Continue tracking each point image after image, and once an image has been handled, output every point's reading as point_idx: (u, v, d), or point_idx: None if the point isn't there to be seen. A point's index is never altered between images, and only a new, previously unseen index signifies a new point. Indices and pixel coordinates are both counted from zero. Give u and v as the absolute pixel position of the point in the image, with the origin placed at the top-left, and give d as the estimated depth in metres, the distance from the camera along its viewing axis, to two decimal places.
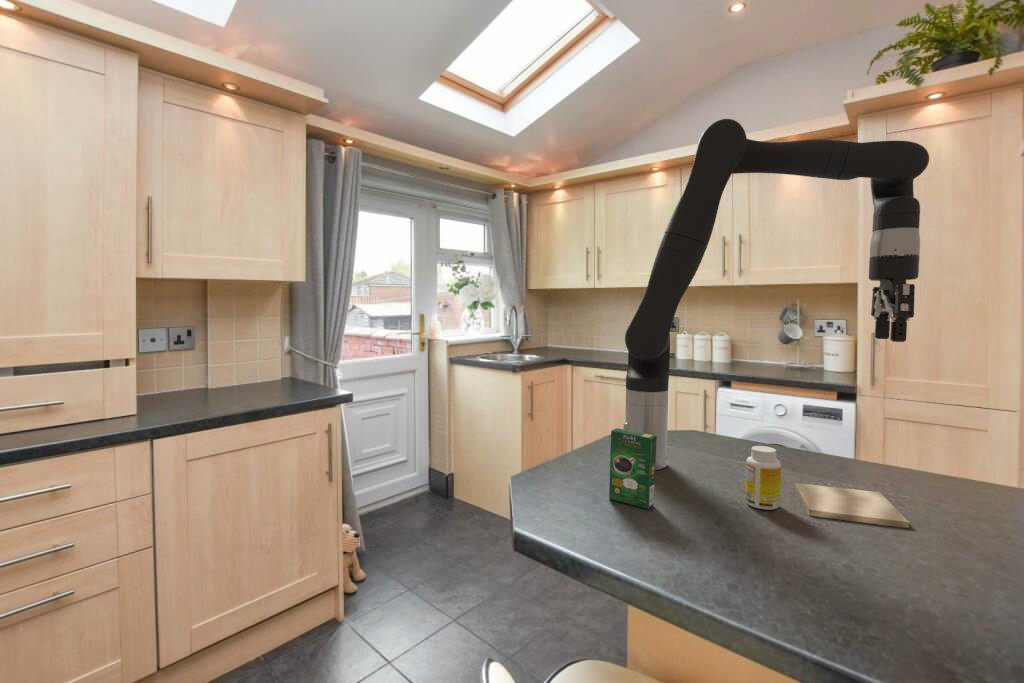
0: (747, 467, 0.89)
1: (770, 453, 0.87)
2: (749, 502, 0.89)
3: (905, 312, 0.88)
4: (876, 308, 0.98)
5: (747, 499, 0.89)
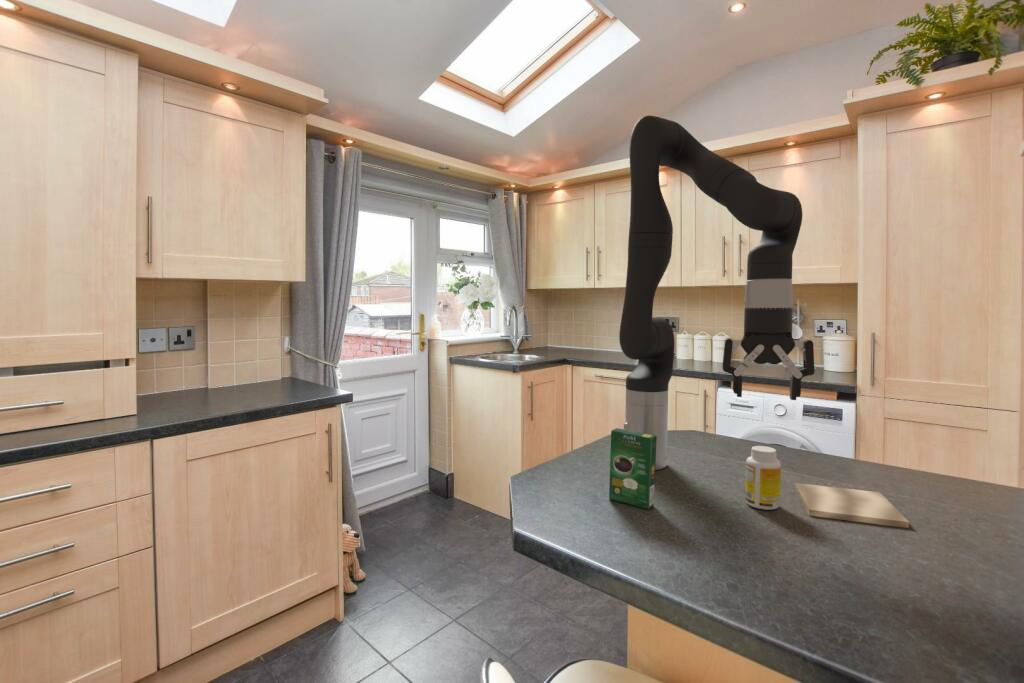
0: (747, 467, 0.89)
1: (770, 453, 0.87)
2: (749, 502, 0.89)
3: None
4: None
5: (747, 499, 0.89)
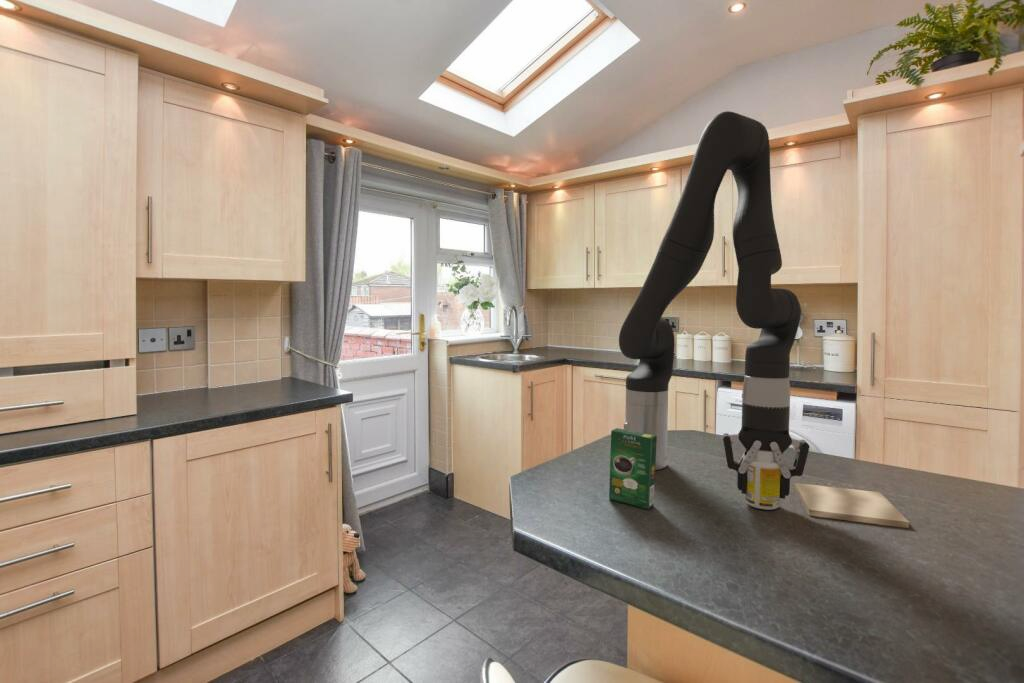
0: None
1: (770, 453, 0.87)
2: (749, 502, 0.89)
3: None
4: (751, 460, 0.88)
5: (747, 499, 0.89)
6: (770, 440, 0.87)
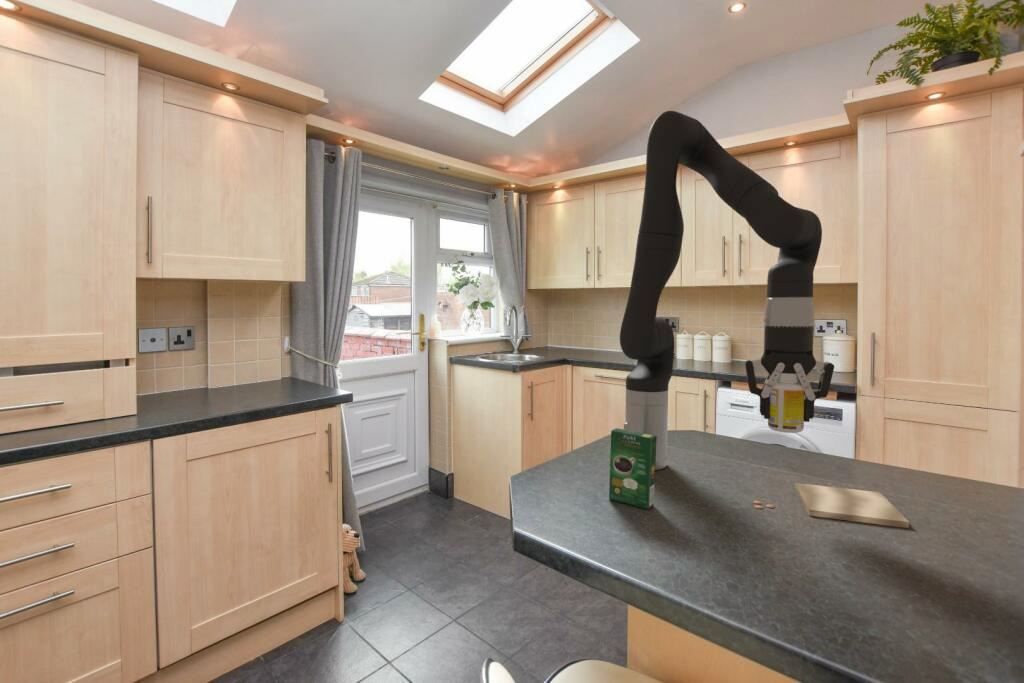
0: None
1: (794, 375, 0.85)
2: (772, 426, 0.87)
3: None
4: (775, 383, 0.87)
5: (770, 424, 0.88)
6: (794, 362, 0.86)
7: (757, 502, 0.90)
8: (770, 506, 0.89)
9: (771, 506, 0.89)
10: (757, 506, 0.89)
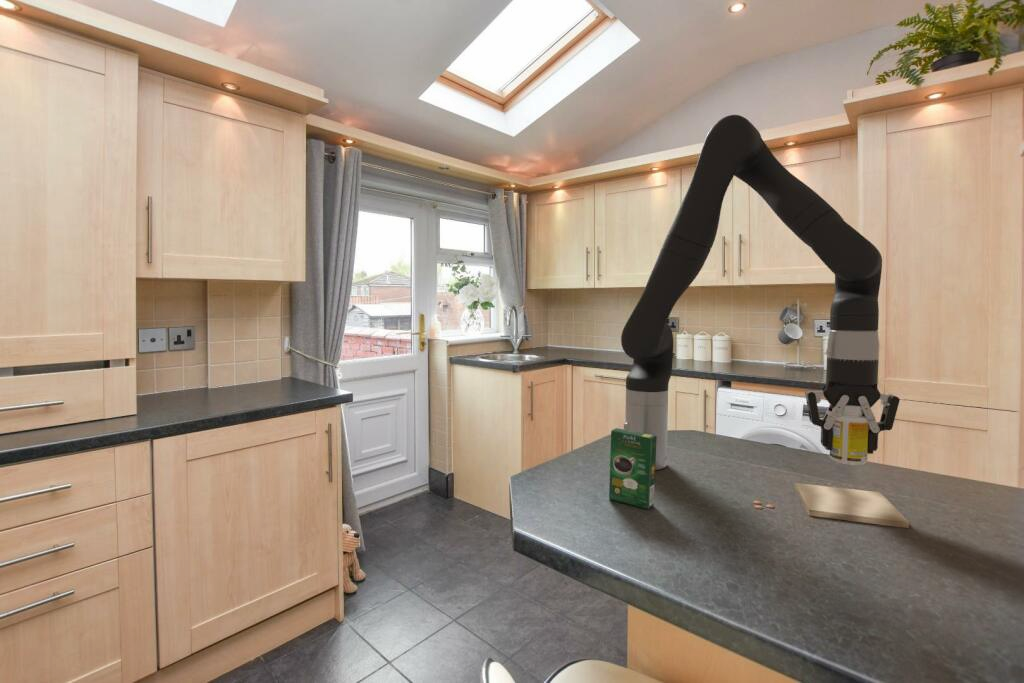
0: None
1: (858, 407, 0.86)
2: (835, 458, 0.88)
3: None
4: (838, 415, 0.87)
5: (833, 455, 0.88)
6: (858, 395, 0.86)
7: (757, 502, 0.90)
8: (770, 506, 0.89)
9: (771, 506, 0.89)
10: (757, 506, 0.89)
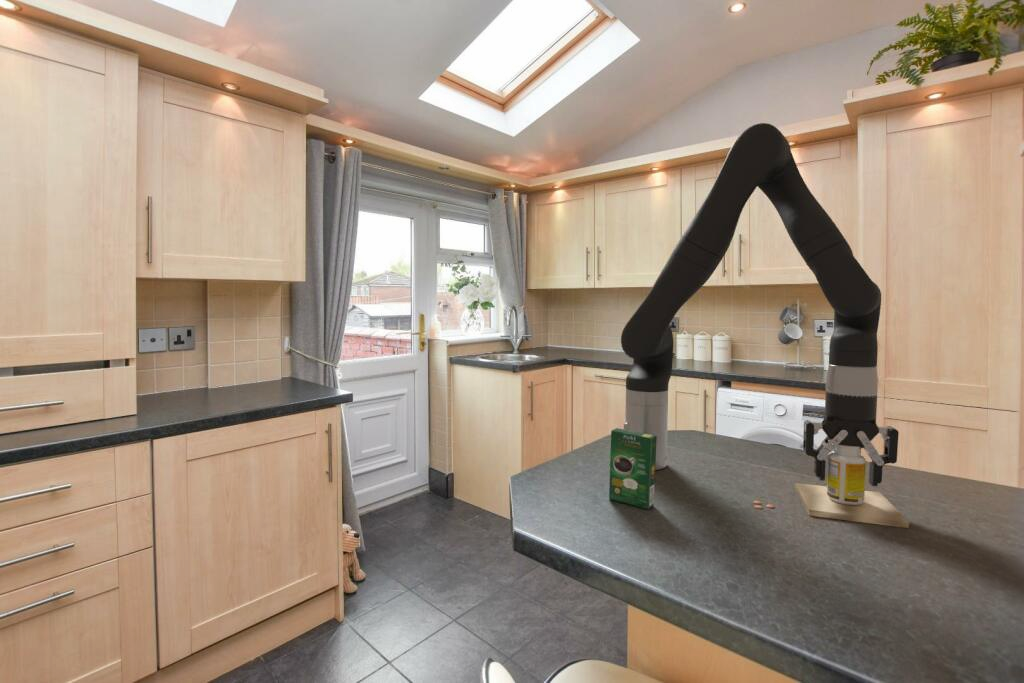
0: (830, 462, 0.89)
1: (855, 448, 0.86)
2: (833, 498, 0.88)
3: None
4: (833, 448, 0.88)
5: (830, 495, 0.89)
6: (856, 430, 0.87)
7: (757, 502, 0.90)
8: (770, 506, 0.89)
9: (771, 506, 0.89)
10: (757, 506, 0.89)
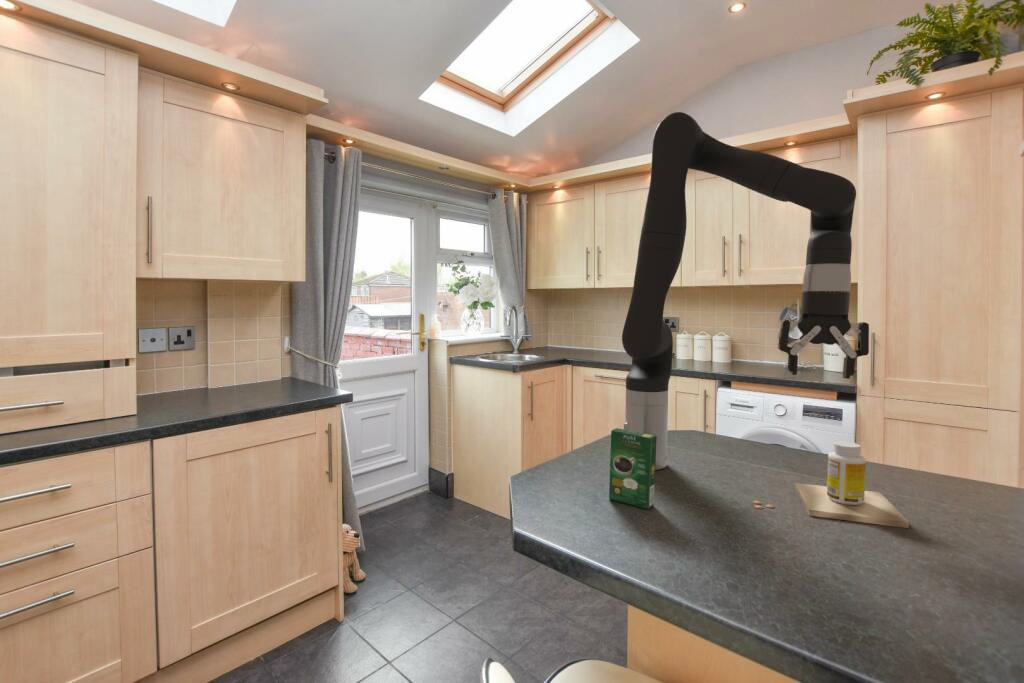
0: (830, 462, 0.89)
1: (855, 448, 0.86)
2: (833, 498, 0.88)
3: None
4: (806, 344, 0.93)
5: (830, 495, 0.89)
6: (829, 326, 0.92)
7: (757, 502, 0.90)
8: (770, 506, 0.89)
9: (771, 506, 0.89)
10: (757, 506, 0.89)
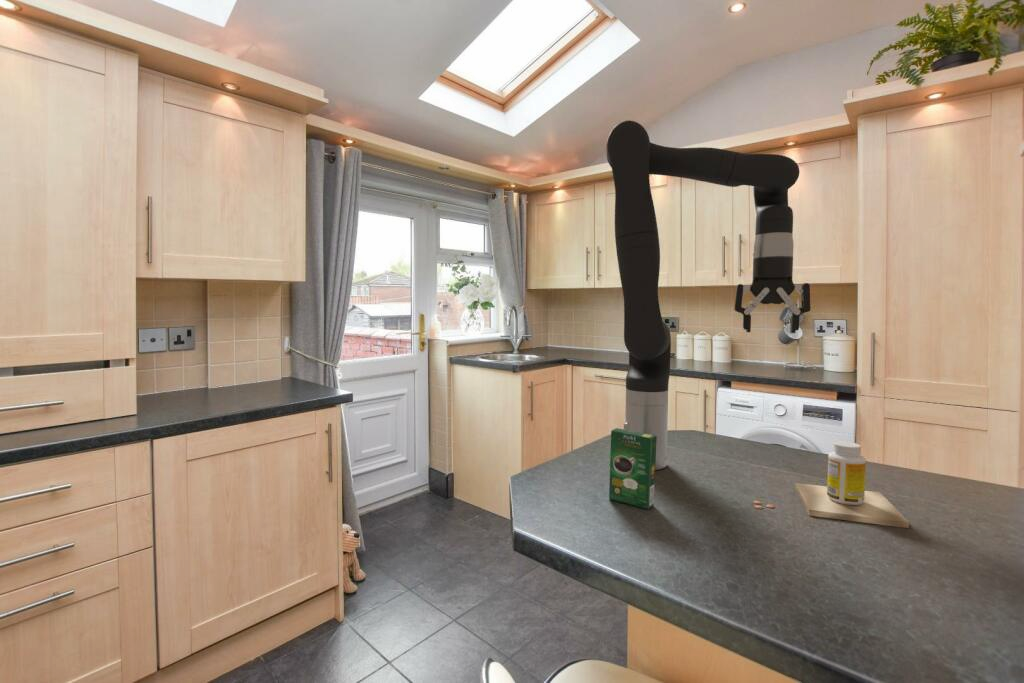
0: (830, 462, 0.89)
1: (855, 448, 0.86)
2: (833, 498, 0.88)
3: None
4: (757, 304, 1.06)
5: (830, 495, 0.89)
6: (776, 288, 1.05)
7: (757, 502, 0.90)
8: (770, 506, 0.89)
9: (771, 506, 0.89)
10: (757, 506, 0.89)
